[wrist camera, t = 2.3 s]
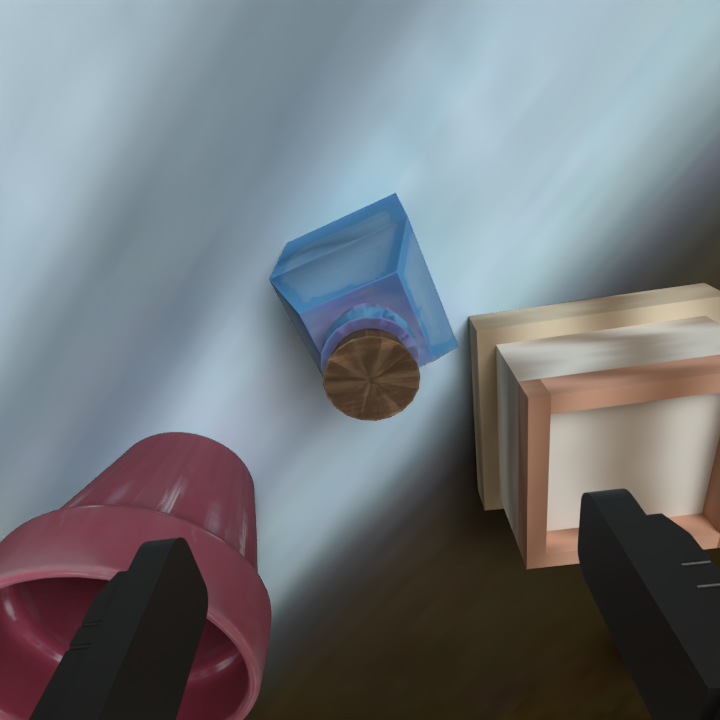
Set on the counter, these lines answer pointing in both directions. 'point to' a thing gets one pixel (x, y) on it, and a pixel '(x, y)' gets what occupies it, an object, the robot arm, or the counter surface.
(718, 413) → the pedestal
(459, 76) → the counter surface
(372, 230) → the perfume bottle
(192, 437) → the plant pot
